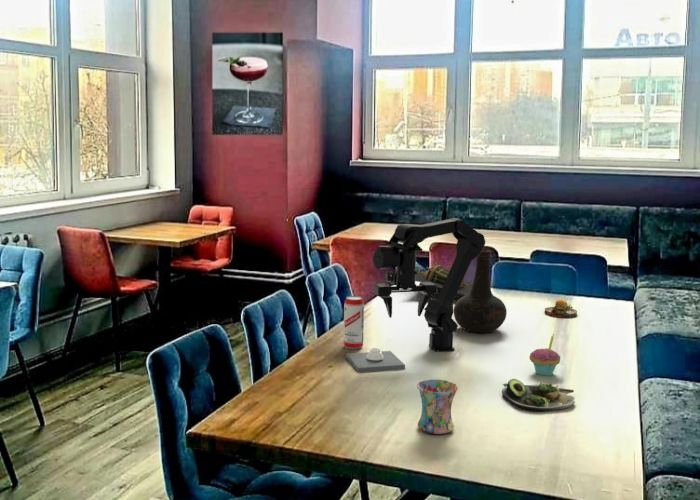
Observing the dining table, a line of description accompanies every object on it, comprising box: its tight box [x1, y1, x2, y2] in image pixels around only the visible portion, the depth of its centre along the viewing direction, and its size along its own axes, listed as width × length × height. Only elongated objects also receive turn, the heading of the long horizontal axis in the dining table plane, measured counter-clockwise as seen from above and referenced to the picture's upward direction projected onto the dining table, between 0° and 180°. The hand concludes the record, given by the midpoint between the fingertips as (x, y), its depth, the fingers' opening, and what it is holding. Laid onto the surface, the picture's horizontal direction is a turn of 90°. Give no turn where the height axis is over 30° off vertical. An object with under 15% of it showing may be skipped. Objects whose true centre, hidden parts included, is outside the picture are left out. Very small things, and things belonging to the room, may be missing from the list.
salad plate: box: [501, 378, 576, 413], centre depth 202 cm, size 19×18×5 cm
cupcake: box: [529, 333, 561, 377], centre depth 222 cm, size 9×8×12 cm
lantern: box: [415, 261, 473, 299], centre depth 321 cm, size 14×23×30 cm
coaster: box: [345, 350, 406, 373], centre depth 230 cm, size 14×14×1 cm
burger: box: [544, 298, 578, 319], centre depth 292 cm, size 12×12×8 cm
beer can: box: [343, 295, 365, 350], centre depth 244 cm, size 6×6×16 cm
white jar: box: [366, 347, 384, 361], centre depth 229 cm, size 5×3×5 cm
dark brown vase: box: [453, 249, 508, 334], centre depth 266 cm, size 18×18×28 cm
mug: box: [416, 378, 459, 435], centre depth 179 cm, size 12×9×11 cm
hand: (404, 316), depth 236 cm, fingers open, 9 cm apart
